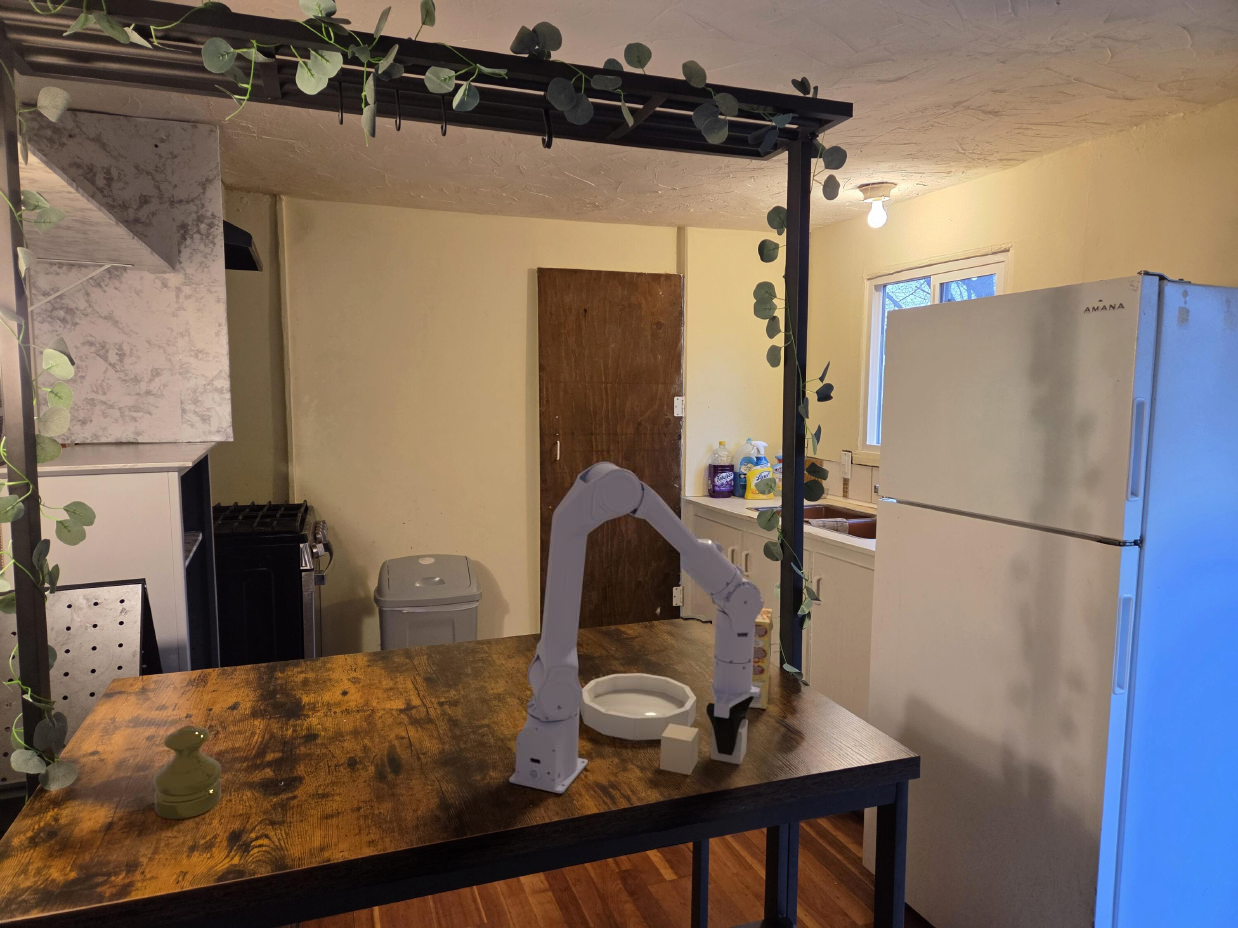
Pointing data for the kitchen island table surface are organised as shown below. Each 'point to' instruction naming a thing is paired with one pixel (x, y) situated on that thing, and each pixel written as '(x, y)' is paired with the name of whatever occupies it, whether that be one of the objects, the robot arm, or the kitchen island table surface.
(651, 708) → the bowl
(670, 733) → the cream rectangular block
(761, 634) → the candy box
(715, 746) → the matte stone cube
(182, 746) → the olive green knobbed piece
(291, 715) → the kitchen island table surface
